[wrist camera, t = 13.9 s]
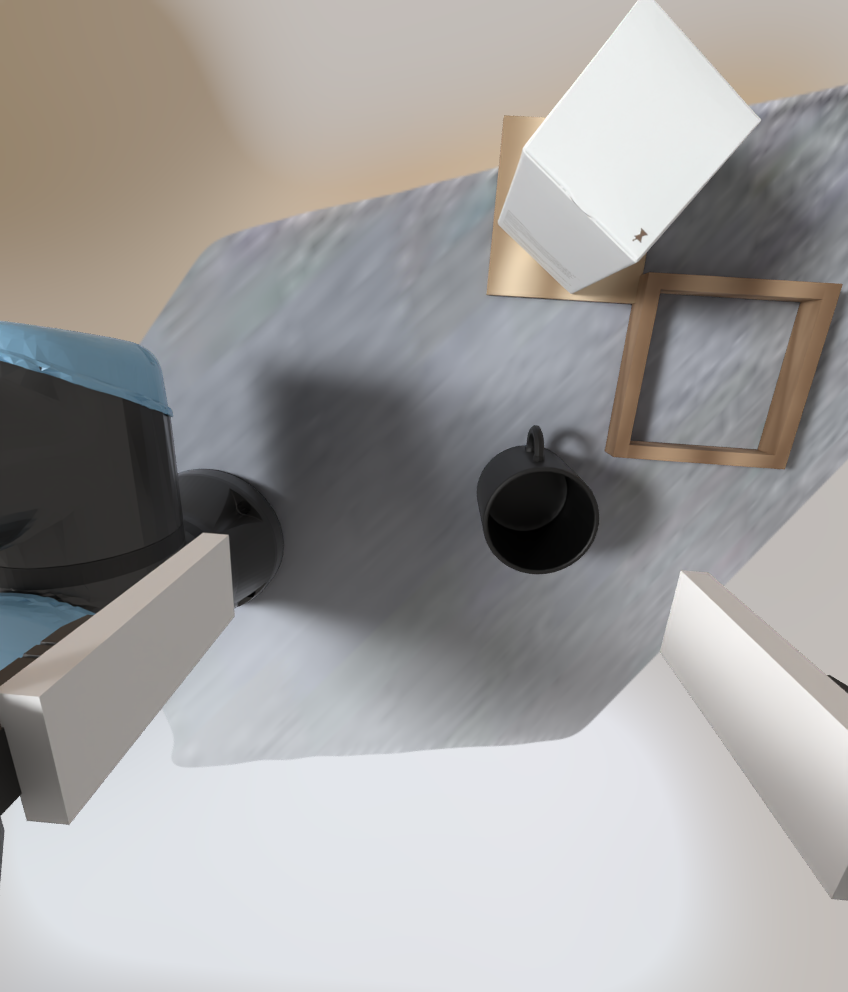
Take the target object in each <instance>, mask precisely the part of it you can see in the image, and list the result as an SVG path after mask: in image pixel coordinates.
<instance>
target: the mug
mask: <svg viewBox="0 0 848 992" xmlns="http://www.w3.org/2000/svg"><path fill="white" fill-rule="evenodd" d="M477 500H478V505H479V510H480V516H481V521H482V526H483V531H484V536H485V539H486V541H487V544H488V546H489V548H490V549H491V551H492V552H493V554H494V555H495V556H496V557H497V558H498V559H499V560H500V561H501V562H503V563H504V564H505V565H507V566H509V567H511V568H513V569H515V570H517V571H520V572H524V573H529V574H547V573H552V572H556V571H559V570H562V569H564V568H566V567H568V566H570V565H572V564H573V563H575V562H576V561H577V560H579V559H580V558H581V557H582V556H583V555H584V554H585V553H586V552H587V550H588V549H589V548H590V546H591V544H592V543H593V541H594V539H595V536H596V533H597V530H598V525H599V510H598V505H597V502H596V499H595V497H594V495H593V493H592V491H591V489H590V488H589V487H588V486H587V485H586V483H585V482H584V481H583V480H582V479H581V478H580V477H579V476H578V475H577V474H576V473H574V472H573V471H572V470H571V469H570V468H569V467H568V466H567V465H566V464H565V463H564V462H563V461H562V460H561V459H560V458H559V457H558V456H557V455H556V454H554V453H553V452H551V451H549V450H547V449H545V448H544V438H543V433H542V431H541V429H540V427H539V426H535V425H534V426H532V427H531V428H530V430H529V432H528V437H527V445H524V446H516V447H512V448H510V449H507V450H505V451H503V452H501V453H499V454H498V455H496V456H495V457H494V458H493V459H492V460H491V461H490V462H489V463H488V464H487V465H486V467H485V468H484V470H483V471H482V473H481V476H480V478H479V481H478V486H477Z"/></svg>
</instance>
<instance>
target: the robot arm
mask: <svg viewBox="0 0 848 992" xmlns="http://www.w3.org/2000/svg"><path fill="white" fill-rule="evenodd" d="M171 417H173V412H172V410H171V408H169V407H168V402H167V397H166V391H165V386H164V381H163V375H162V370H161V367H160V364H159V362H158V360H157V359H156V357H155V356H154V355H153V354H152V353H151V352H150V351H149V350H147V349H146V348H144V347H142V346H141V345H139V344H136V343H133V342H130V341H125V340H120V339H116V338H111V337H105V336H100V335H94V334H87V333H81V332H76V331H69V330H63V329H57V328H50V327H43V326H36V325H29V324H22V323H14V322H6V321H0V816H1V815H2V813H4V812H5V810H6V809H7V808H8V807H9V806H10V805H11V804H12V803H13V802H14V801H15V800H16V799H17V798H18V797H19V796H20V797H21V801H22V805H23V808H24V812H25V815H26V819H27V821H36V822H47V823H56V824H66V825H69V824H70V823H71V822H72V821H73V819H74V818H75V817H76V816H77V814H78V813H79V812H80V810H81V809H82V808H83V807H84V806H85V804H86V803H87V802H88V801H89V799H90V798H91V797H92V795H93V794H94V793H95V792H96V790H97V789H98V788H99V787H100V785H101V784H102V783H103V782H104V780H105V779H106V778H107V777H108V775H109V774H110V773H111V771H112V770H113V769H114V768H115V766H116V765H117V764H118V763H119V761H120V760H121V759H122V757H123V756H124V755H125V754H126V753H127V751H128V750H129V749H130V747H131V746H132V745H133V744H134V742H135V741H136V740H137V739H138V737H139V736H140V735H141V734H142V732H143V731H144V730H145V729H146V727H147V726H148V725H149V724H150V722H151V721H152V720H153V719H154V717H155V716H156V715H157V714H158V712H159V711H160V710H161V709H162V707H163V706H164V705H165V703H166V702H167V701H168V700H169V698H170V697H171V696H172V695H173V693H174V692H175V691H176V690H177V688H178V687H179V686H180V685H181V683H182V682H183V681H184V680H185V678H186V677H187V676H188V675H189V673H190V672H191V671H192V669H193V668H194V667H195V666H196V664H197V663H198V662H199V661H200V659H201V658H202V657H203V656H204V654H205V653H206V652H207V651H208V649H209V648H210V647H211V646H212V644H213V643H214V642H215V640H216V639H217V638H218V637H219V635H220V634H221V633H222V632H223V630H224V629H225V628H226V627H227V625H228V624H229V623H230V622H231V620H232V619H233V618H234V617H235V616H234V608H236V607H238V606H241V605H243V604H245V603H247V602H248V601H250V600H252V599H253V598H255V597H256V596H257V595H258V594H259V593H260V592H261V591H262V590H263V589H264V588H265V587H266V586H267V584H268V583H269V582H270V581H271V579H272V578H273V577H274V575H275V574H276V572H277V570H278V568H279V565H280V563H281V559H282V554H283V536H282V531H281V527H280V524H279V521H278V518H277V516H276V514H275V512H274V511H273V509H272V507H271V506H270V504H269V503H268V502H267V501H266V499H265V498H264V497H263V496H262V495H261V494H260V493H259V492H258V491H257V490H256V489H255V488H253V487H252V486H251V485H249V484H248V483H246V482H245V481H243V480H241V479H240V478H237V477H235V476H233V475H231V474H228V473H225V472H221V471H217V470H210V469H194V470H188V471H184V472H181V473H177V465H176V456H175V448H174V440H173V432H172V424H171ZM660 653H661V654H662V656H663V657H664V659H665V660H666V662H667V663H668V664H669V666H670V667H671V669H672V670H673V672H674V673H675V675H676V676H677V678H678V679H679V680H680V682H681V683H682V684H683V686H684V687H685V689H686V690H687V692H688V693H689V695H690V696H691V697H692V699H693V701H694V702H695V703H696V705H697V706H698V708H699V709H700V711H701V712H702V713H703V715H704V716H705V718H706V719H707V721H708V722H709V724H710V725H711V726H712V728H713V729H714V731H715V732H716V734H717V735H718V737H719V738H720V739H721V741H722V742H723V744H724V745H725V747H726V748H727V750H728V751H729V752H730V754H731V755H732V757H733V758H734V760H735V761H736V762H737V764H738V765H739V767H740V768H741V770H742V771H743V773H744V774H745V775H746V777H747V778H748V780H749V781H750V783H751V784H752V786H753V787H754V788H755V790H756V791H757V793H758V794H759V796H760V797H761V798H762V800H763V801H764V803H765V804H766V806H767V807H768V809H769V810H770V811H771V813H772V814H773V816H774V817H775V819H776V820H777V822H778V823H779V824H780V826H781V827H782V829H783V830H784V831H785V833H786V834H787V836H788V837H789V839H790V840H791V842H792V843H793V844H794V846H795V847H796V849H797V850H798V852H799V853H800V855H801V856H802V858H803V859H804V860H805V862H806V863H807V865H808V866H809V868H810V869H811V870H812V872H813V873H814V875H815V876H816V878H817V879H818V881H819V882H820V883H821V885H822V886H823V887H824V889H825V891H826V892H827V893H828V895H829V896H830V898H831V899H839V900H848V686H847V685H845V684H844V683H842V682H840V681H839V680H837V679H835V678H834V677H832V676H830V675H826V674H825V673H823V672H822V671H821V670H820V669H819V668H818V667H816V666H815V665H814V664H813V663H812V662H811V661H810V660H808V659H807V658H806V657H805V656H804V655H803V654H801V653H800V652H799V651H798V650H797V649H796V648H795V647H793V646H792V645H791V644H790V643H789V642H788V641H786V640H785V639H784V638H783V637H782V636H781V635H780V634H778V633H777V632H776V631H775V630H774V629H773V628H771V627H770V626H769V625H768V624H767V623H766V622H765V621H763V620H762V619H761V618H760V617H759V616H758V615H756V614H755V613H754V612H753V611H752V610H751V609H750V608H748V607H747V606H746V605H745V604H744V603H743V602H741V601H740V600H739V599H738V598H737V597H736V596H734V595H733V594H732V593H731V592H730V591H729V590H728V589H726V588H725V587H724V586H723V585H722V584H721V583H720V582H718V581H717V580H716V579H715V578H714V577H713V576H711V575H710V574H709V573H707V572H694V571H682V570H681V572H680V576H679V580H678V584H677V588H676V591H675V595H674V599H673V603H672V607H671V611H670V615H669V618H668V622H667V626H666V630H665V634H664V638H663V642H662V645H661V649H660ZM3 841H4V827H3V824H2V821H1V817H0V878H1V865H2V853H3Z"/></svg>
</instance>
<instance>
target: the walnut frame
mask: <svg viewBox="0 0 848 992" xmlns="http://www.w3.org/2000/svg"><path fill="white" fill-rule="evenodd" d="M842 285H843V284H834V283H817V282H801V281H785V280H768V279H752V278H736V277H719V276H703V275H687V274H670V273H654V272H648V273H646V274H643V275H640V278H639V284H638V289H637V294H636V300H635V304H632V308H631V313H630V318H629V324H628V329H627V334H626V340H625V345H624V351H623V356H622V361H621V367H620V372H619V377H618V383H617V388H616V393H615V399H614V404H613V409H612V415H611V420H610V425H609V431H608V436H607V441H606V447H605V452H607V453H608V454H610V455H611V456H613V457H622V458H635V459H649V460H663V461H677V462H691V463H704V464H718V465H732V466H746V467H760V468H774V469H785V467H786V464H787V461H788V457H789V454H790V451H791V448H792V445H793V441H794V438H795V435H796V432H797V429H798V425H799V422H800V419H801V416H802V413H803V410H804V406H805V403H806V400H807V397H808V394H809V390H810V387H811V384H812V381H813V378H814V374H815V371H816V368H817V365H818V362H819V358H820V355H821V352H822V349H823V346H824V342H825V339H826V336H827V333H828V330H829V326H830V323H831V320H832V317H833V314H834V310H835V307H836V304H837V301H838V298H839V294H840V291H841V288H842ZM660 293H663V294H679V295H695V296H711V297H727V298H743V299H759V300H775V301H791V302H800V305H799V309H798V312H797V316H796V319H795V322H794V326H793V329H792V333H791V336H790V340H789V343H788V347H787V350H786V353H785V357H784V360H783V364H782V367H781V371H780V374H779V378H778V381H777V384H776V388H775V391H774V395H773V398H772V402H771V405H770V409H769V412H768V415H767V419H766V422H765V426H764V429H763V433H762V436H761V440H760V443H759V446H758V450H756V449H742V448H728V447H714V446H700V445H686V444H672V443H658V442H644V441H630V439H631V434H632V429H633V424H634V419H635V414H636V410H637V405H638V400H639V395H640V390H641V385H642V380H643V375H644V370H645V365H646V360H647V355H648V350H649V345H650V340H651V336H652V331H653V326H654V321H655V316H656V311H657V306H658V301H659V296H660Z"/></svg>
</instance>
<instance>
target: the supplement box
mask: <svg viewBox="0 0 848 992" xmlns="http://www.w3.org/2000/svg"><path fill="white" fill-rule="evenodd" d="M760 122H761V119H760V118H759V117H758V116H757V115H756V114H755V113H754V112H753V111H752V109H751V108H750V107H749V106H748V105H747V104H746V103H745V102H744V101H743V100H742V98H741V97H740V96H739V95H738V94H737V92H736V91H735V90H734V89H733V88H732V87H731V86H730V84H729V83H728V82H727V81H726V80H725V79H724V78H723V77H722V76H721V74H720V73H719V72H718V71H717V70H716V68H715V67H714V66H713V65H712V64H711V63H710V62H709V60H708V59H707V58H706V57H705V56H704V55H703V54H702V53H701V52H700V50H699V49H698V48H697V47H696V46H695V45H694V44H693V42H692V41H691V40H690V39H689V38H688V37H687V36H686V34H685V33H684V32H683V31H682V30H681V29H680V28H679V27H678V25H677V24H676V23H675V22H674V21H673V20H672V19H671V18H670V16H669V15H668V14H667V13H666V12H665V11H664V10H663V9H662V7H661V6H660V5H659V4H658V3H657V2H656V1H655V0H638V1H637V2H636V3H635V5H634V6H633V7H632V9H631V10H630V11H629V13H628V14H627V15H626V17H625V18H624V19H623V20H622V22H621V23H620V24H619V26H618V27H617V29H616V30H615V31H614V32H613V34H612V35H611V36H610V38H609V39H608V40H607V41H606V43H605V44H604V45H603V47H602V48H601V49H600V50H599V52H598V53H597V54H596V56H595V57H594V58H593V59H592V61H591V62H590V63H589V64H588V66H587V67H586V68H585V70H584V71H583V72H582V73H581V75H580V76H579V77H578V79H577V80H576V81H575V82H574V84H573V85H572V86H571V88H570V89H569V90H568V91H567V92H566V94H565V95H564V96H563V97H562V99H561V100H560V101H559V102H558V104H557V105H556V106H555V107H554V109H553V110H552V111H551V113H550V114H549V115H548V116H547V117H546V119H545V120H544V121H543V123H542V124H541V125H540V126H539V128H538V129H537V130H536V131H535V133H534V134H533V135H532V137H531V138H530V139H529V140H528V142H527V143H526V144H525V146H524V147H523V149H522V154H521V157H520V160H519V163H518V166H517V169H516V172H515V175H514V178H513V180H512V183H511V186H510V189H509V192H508V194H507V197H506V200H505V203H504V205H503V208H502V211H501V214H500V217H499V219H498V225H499V226H500V227H501V228H502V229H503V230H504V231H505V232H506V233H507V234H508V235H510V236H511V237H512V238H513V239H514V240H515V241H516V242H517V243H518V244H519V245H520V246H521V247H522V248H523V249H524V250H525V251H526V252H527V253H528V254H529V255H530V256H531V257H532V258H533V259H534V260H535V261H537V262H538V263H539V264H540V265H541V266H542V267H543V268H544V269H545V270H546V271H547V272H548V273H549V274H550V275H551V276H552V277H553V278H554V279H555V280H556V281H557V282H558V283H559V284H561V285H562V286H563V287H564V288H565V289H566V290H567V291H568V292H569V293H570V294H573V293H575V292H577V291H579V290H581V289H583V288H585V287H587V286H589V285H591V284H593V283H595V282H597V281H600V280H602V279H604V278H606V277H608V276H610V275H612V274H614V273H616V272H618V271H620V270H622V269H624V268H626V267H629V266H631V265H633V264H635V263H637V262H638V261H639V260H640V259H641V258H642V257H643V256H644V255H645V254H646V252H647V251H648V250H649V249H650V248H651V247H652V246H653V245H654V243H655V242H656V241H657V240H658V239H659V238H660V237H661V236H662V234H663V233H664V232H665V231H666V230H667V229H668V227H669V226H670V225H671V224H672V223H673V222H674V221H675V219H676V218H677V217H678V216H679V215H680V214H681V213H682V211H683V210H684V209H685V208H686V207H687V206H688V204H689V203H690V202H691V201H692V200H693V199H694V198H695V196H696V195H697V194H698V193H699V192H700V191H701V189H702V188H703V187H704V186H705V185H706V184H707V183H708V181H709V180H710V179H711V178H712V177H713V176H714V174H715V173H716V172H717V171H718V170H719V169H720V168H721V166H722V165H723V164H724V163H725V162H726V161H727V160H728V158H729V157H730V156H731V155H732V154H733V153H734V152H735V150H736V149H737V148H738V147H739V146H740V145H741V143H742V142H743V141H744V140H745V139H746V138H747V136H748V135H749V134H750V133H751V132H752V131H753V130H754V129H755V127H756V126H757V125H758V124H759V123H760Z"/></svg>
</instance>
